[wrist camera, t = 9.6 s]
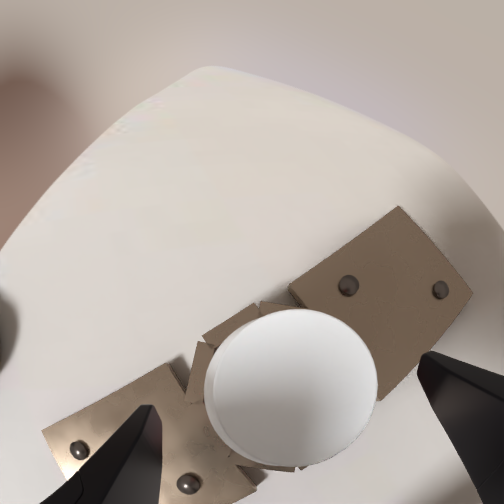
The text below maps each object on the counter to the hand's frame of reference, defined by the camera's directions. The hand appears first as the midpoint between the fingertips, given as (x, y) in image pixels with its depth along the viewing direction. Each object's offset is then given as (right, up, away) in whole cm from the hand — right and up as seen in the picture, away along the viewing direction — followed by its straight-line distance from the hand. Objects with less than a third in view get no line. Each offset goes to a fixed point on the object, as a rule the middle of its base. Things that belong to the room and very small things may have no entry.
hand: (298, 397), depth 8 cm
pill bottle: (0, -4, +9) cm, 10 cm away
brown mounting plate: (0, -4, +9) cm, 10 cm away
